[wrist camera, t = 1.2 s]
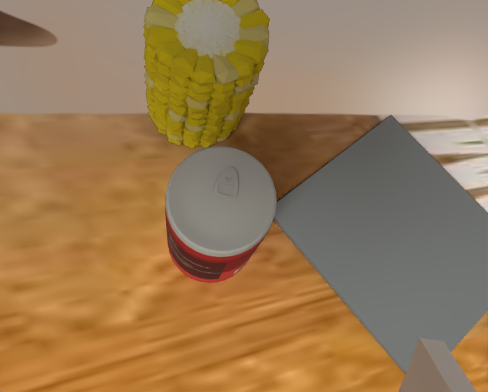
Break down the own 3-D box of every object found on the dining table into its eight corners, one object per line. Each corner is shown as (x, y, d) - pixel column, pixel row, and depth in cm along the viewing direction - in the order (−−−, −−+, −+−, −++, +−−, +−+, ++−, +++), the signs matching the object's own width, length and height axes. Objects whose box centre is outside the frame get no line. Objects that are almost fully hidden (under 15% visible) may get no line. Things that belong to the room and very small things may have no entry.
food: (217, 75, 48) (245, 156, 45) (109, 80, 43) (134, 172, 40) (277, -40, 35) (322, 65, 32) (133, -53, 30) (172, 71, 27)
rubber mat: (266, 211, 41) (267, 209, 41) (388, 117, 47) (391, 114, 47) (416, 386, 37) (419, 387, 37) (528, 260, 44) (532, 259, 43)
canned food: (249, 199, 41) (273, 145, 31) (254, 283, 39) (282, 254, 28) (168, 199, 40) (165, 142, 30) (166, 285, 37) (163, 255, 27)
